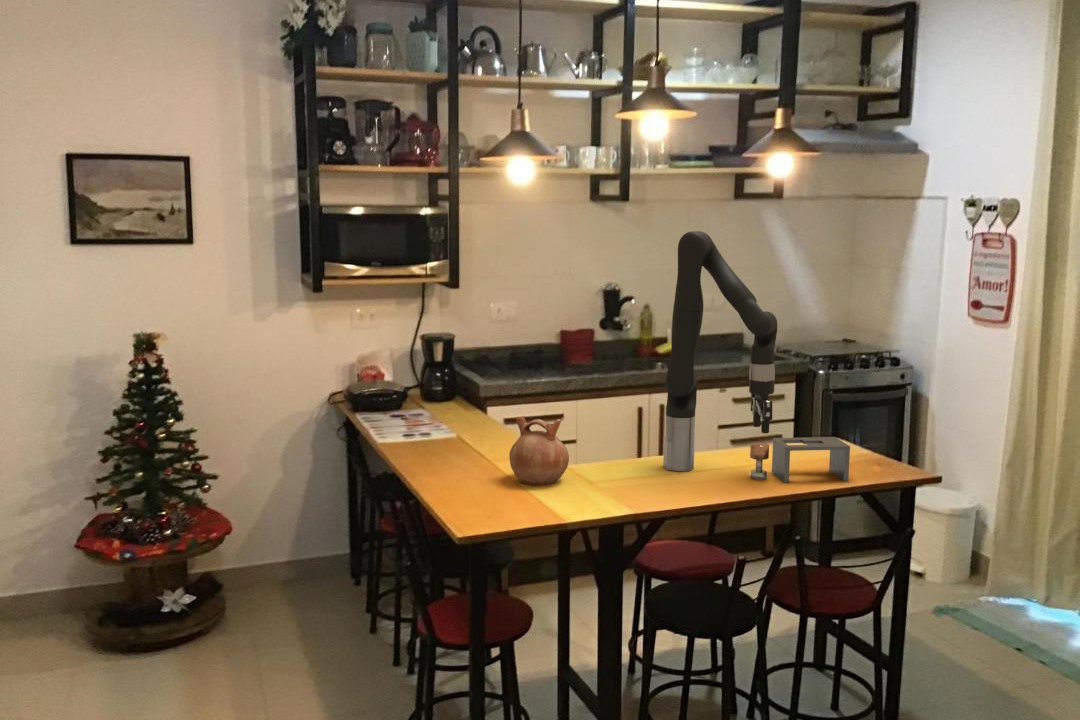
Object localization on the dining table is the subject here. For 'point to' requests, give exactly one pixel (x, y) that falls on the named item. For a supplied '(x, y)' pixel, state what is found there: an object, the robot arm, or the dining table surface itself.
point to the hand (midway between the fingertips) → (760, 429)
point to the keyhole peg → (759, 459)
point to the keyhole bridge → (836, 447)
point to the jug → (538, 454)
